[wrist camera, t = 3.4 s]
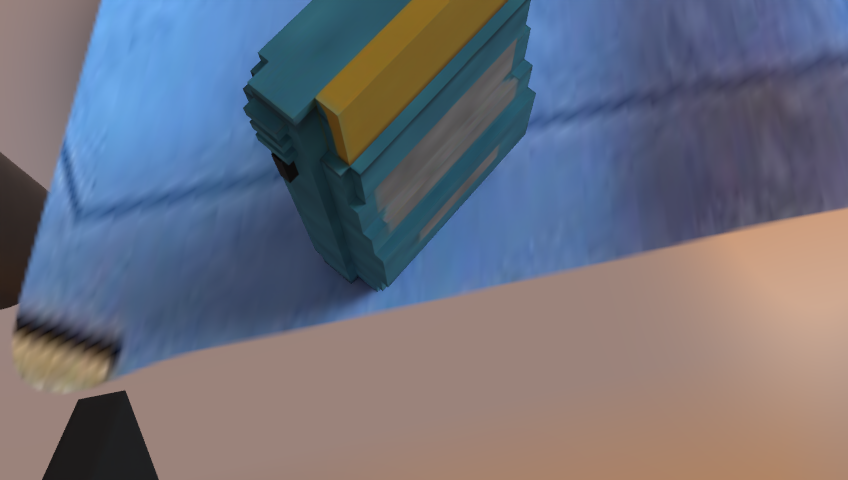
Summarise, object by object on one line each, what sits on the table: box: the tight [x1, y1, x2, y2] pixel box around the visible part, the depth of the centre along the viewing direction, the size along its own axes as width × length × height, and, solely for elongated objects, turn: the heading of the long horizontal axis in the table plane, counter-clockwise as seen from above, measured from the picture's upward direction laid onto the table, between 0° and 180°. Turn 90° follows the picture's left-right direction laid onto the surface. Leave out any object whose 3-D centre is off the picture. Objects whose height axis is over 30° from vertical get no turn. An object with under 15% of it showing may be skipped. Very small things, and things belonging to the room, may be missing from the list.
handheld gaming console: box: [243, 0, 536, 292], centre depth 27 cm, size 10×4×15 cm, turn 139°
